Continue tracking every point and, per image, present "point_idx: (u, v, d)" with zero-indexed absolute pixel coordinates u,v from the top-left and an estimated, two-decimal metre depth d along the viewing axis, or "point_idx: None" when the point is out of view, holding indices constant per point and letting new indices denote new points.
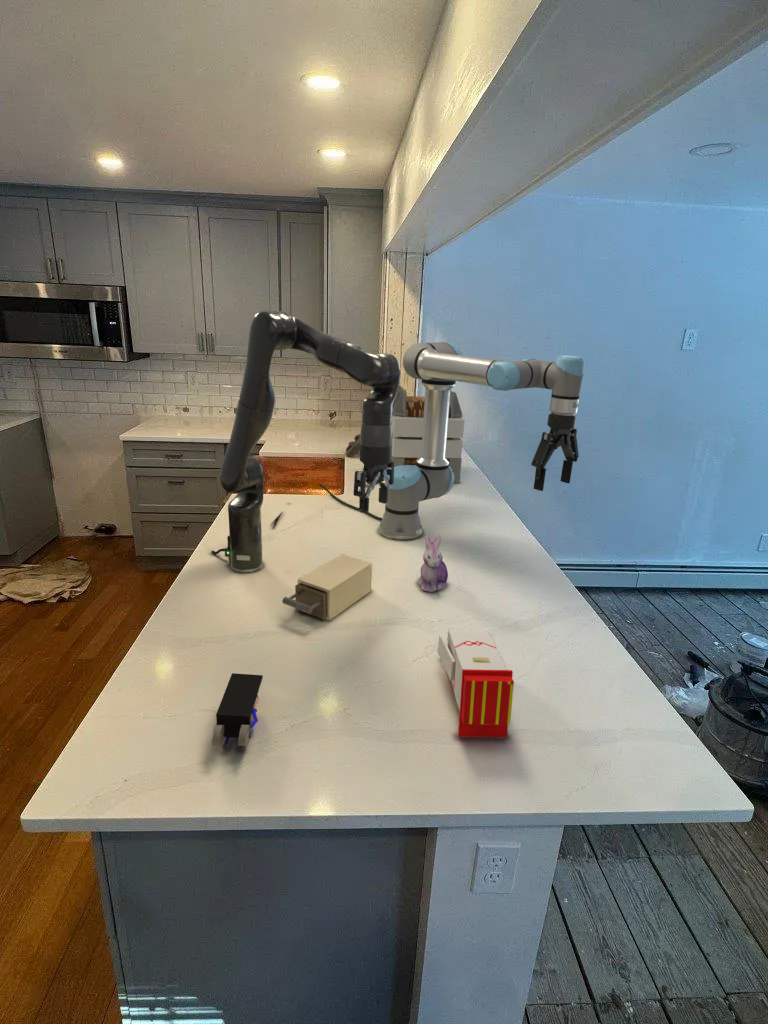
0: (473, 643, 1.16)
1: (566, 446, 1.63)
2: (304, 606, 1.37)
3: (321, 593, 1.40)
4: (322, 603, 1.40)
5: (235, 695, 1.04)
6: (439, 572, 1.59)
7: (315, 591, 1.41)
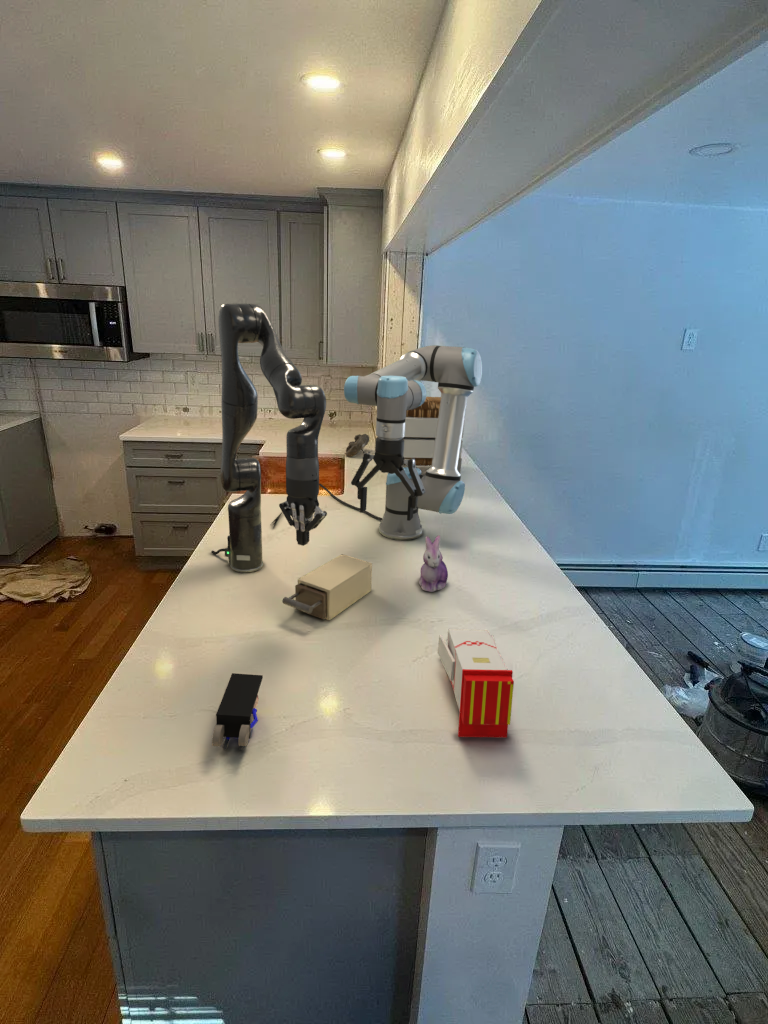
0: (473, 643, 1.16)
1: None
2: (304, 606, 1.37)
3: (321, 593, 1.40)
4: (322, 603, 1.40)
5: (235, 695, 1.04)
6: (439, 572, 1.59)
7: (315, 591, 1.41)
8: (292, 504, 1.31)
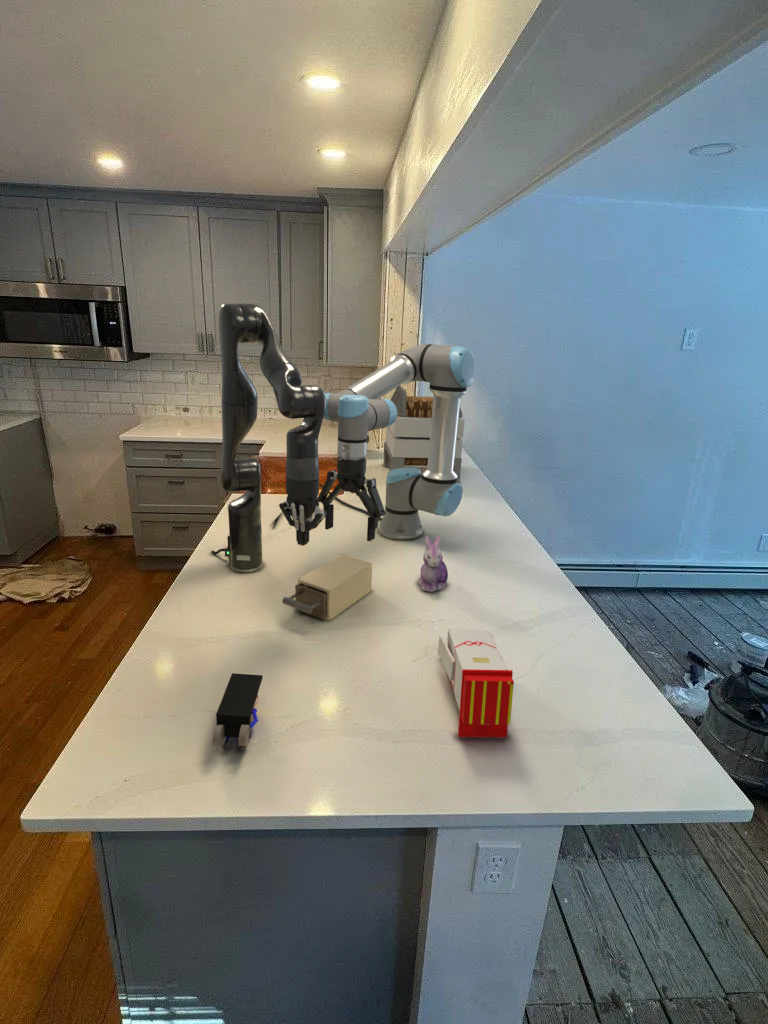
0: (473, 643, 1.16)
1: None
2: (304, 606, 1.37)
3: (321, 593, 1.40)
4: (322, 603, 1.40)
5: (235, 695, 1.04)
6: (439, 572, 1.59)
7: (315, 591, 1.41)
8: (292, 504, 1.31)
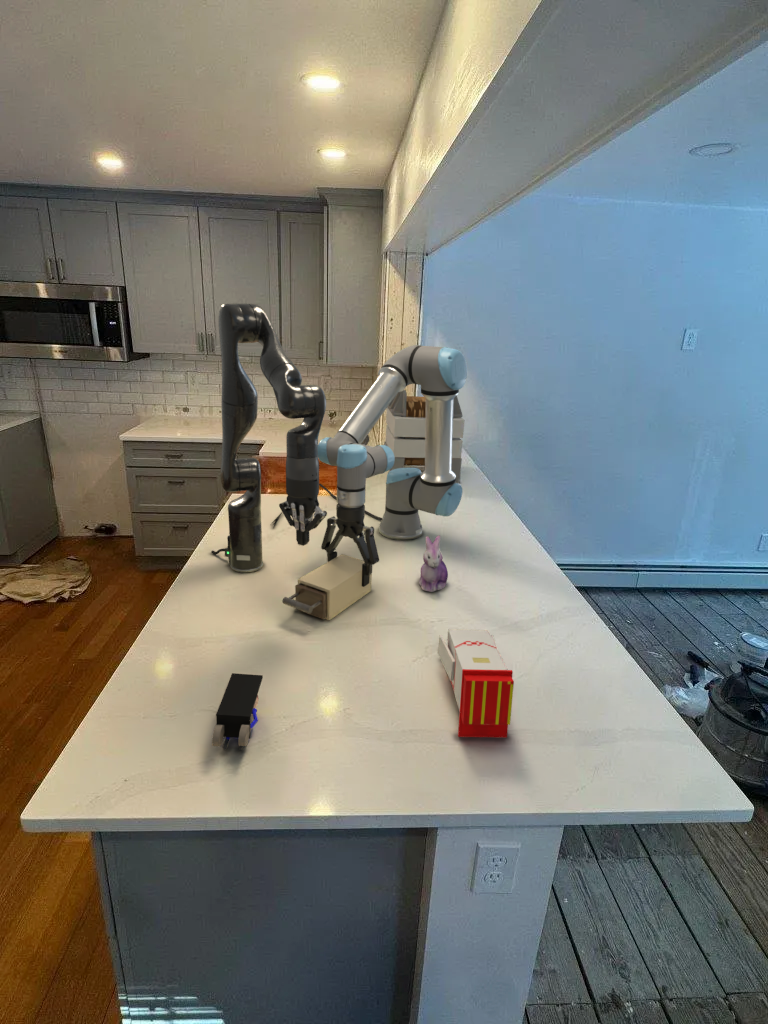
0: (473, 643, 1.16)
1: None
2: (304, 606, 1.37)
3: (321, 593, 1.40)
4: (322, 603, 1.40)
5: (235, 695, 1.04)
6: (439, 572, 1.59)
7: (315, 591, 1.41)
8: (292, 504, 1.31)
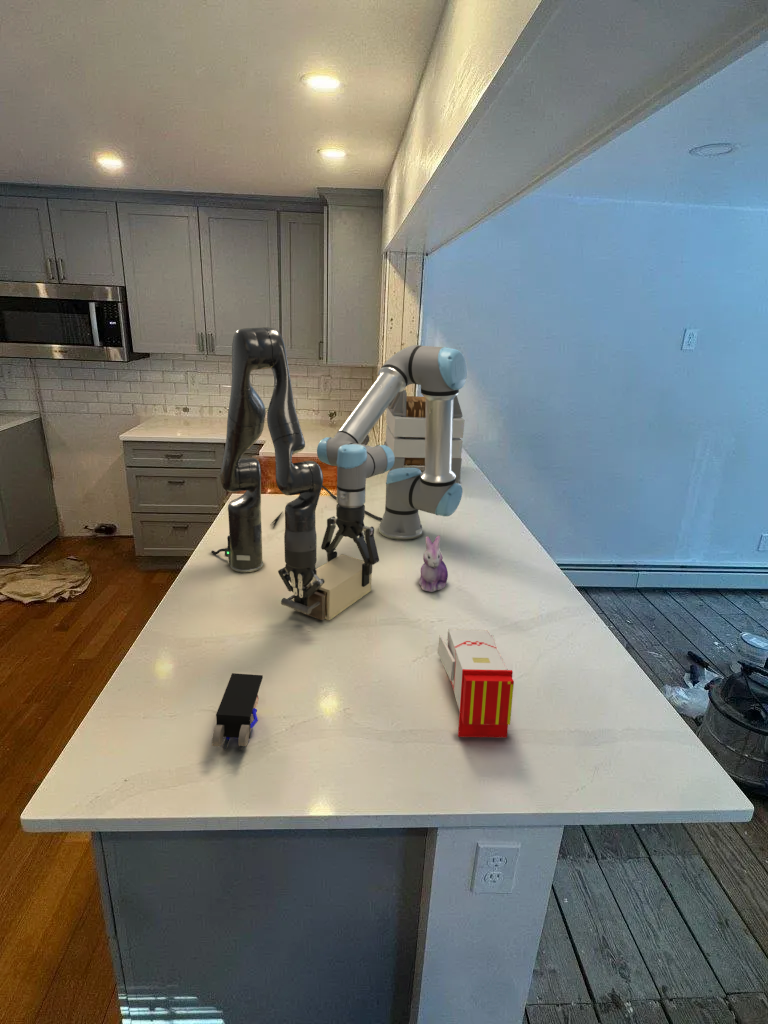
0: (473, 643, 1.16)
1: None
2: (303, 607, 1.36)
3: (320, 594, 1.40)
4: (321, 604, 1.40)
5: (235, 695, 1.04)
6: (439, 572, 1.59)
7: None
8: (291, 572, 1.36)
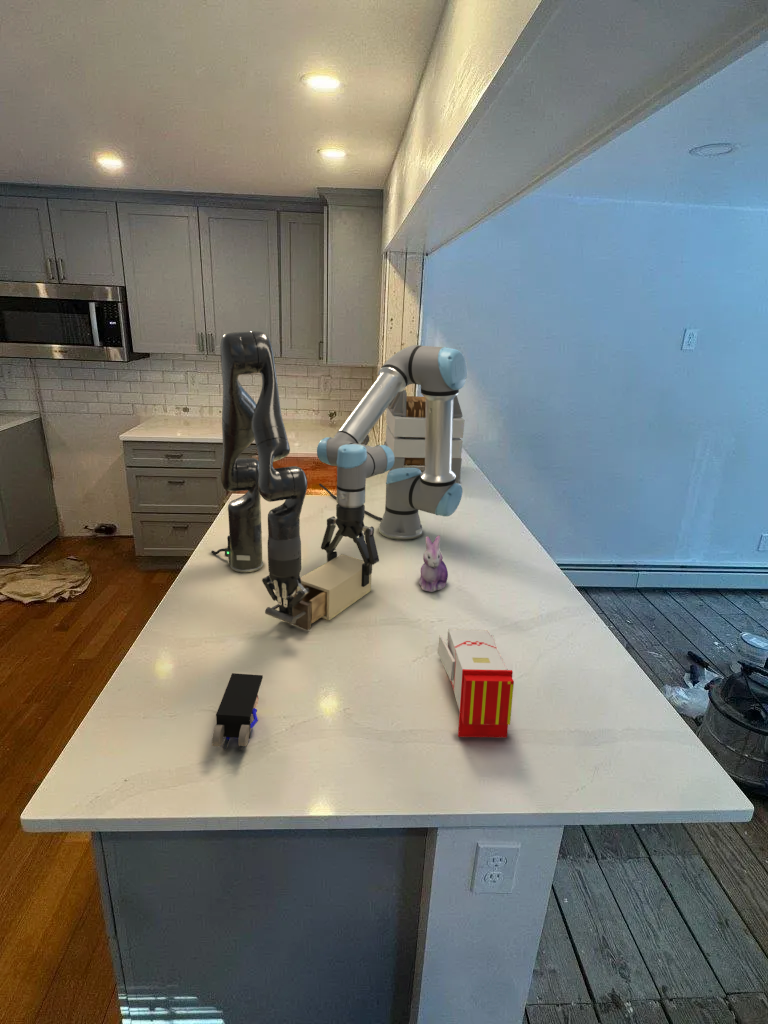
0: (473, 643, 1.16)
1: None
2: (287, 617, 1.32)
3: (305, 603, 1.35)
4: (306, 613, 1.35)
5: (235, 695, 1.04)
6: (439, 572, 1.59)
7: None
8: (274, 581, 1.31)
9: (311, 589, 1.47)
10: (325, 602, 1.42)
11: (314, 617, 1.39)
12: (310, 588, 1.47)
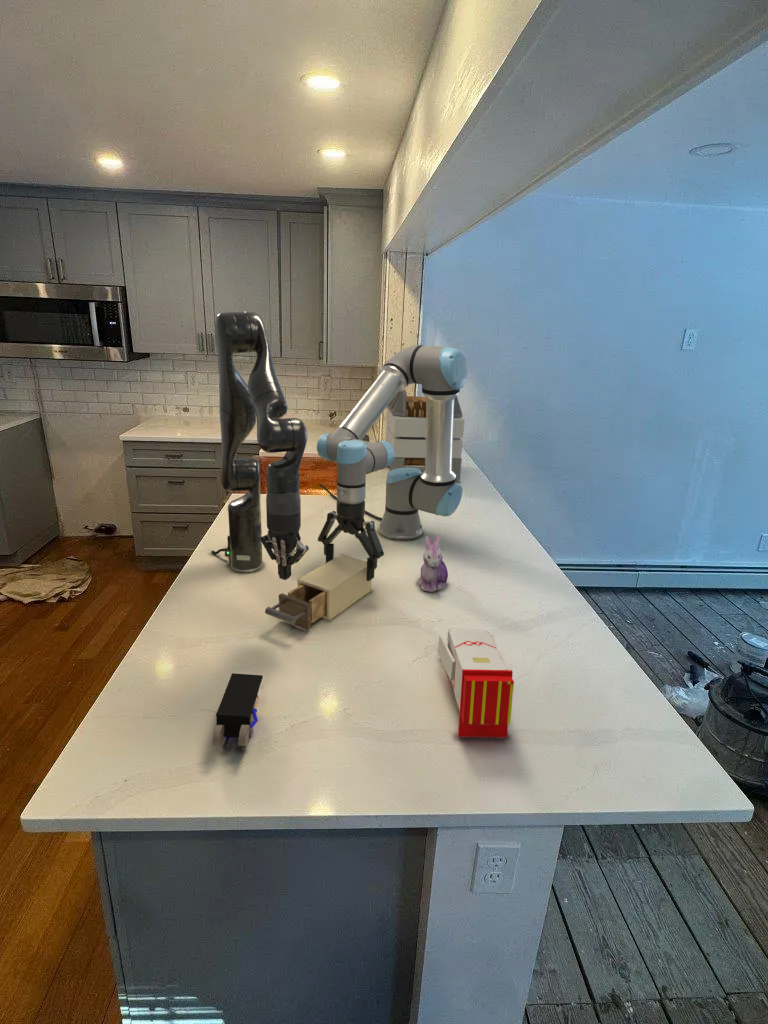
0: (473, 643, 1.16)
1: None
2: (287, 617, 1.32)
3: (305, 603, 1.35)
4: (306, 613, 1.35)
5: (235, 695, 1.04)
6: (439, 572, 1.59)
7: (299, 601, 1.36)
8: (273, 538, 1.28)
9: (311, 589, 1.47)
10: (325, 602, 1.42)
11: (314, 617, 1.39)
12: (310, 588, 1.47)
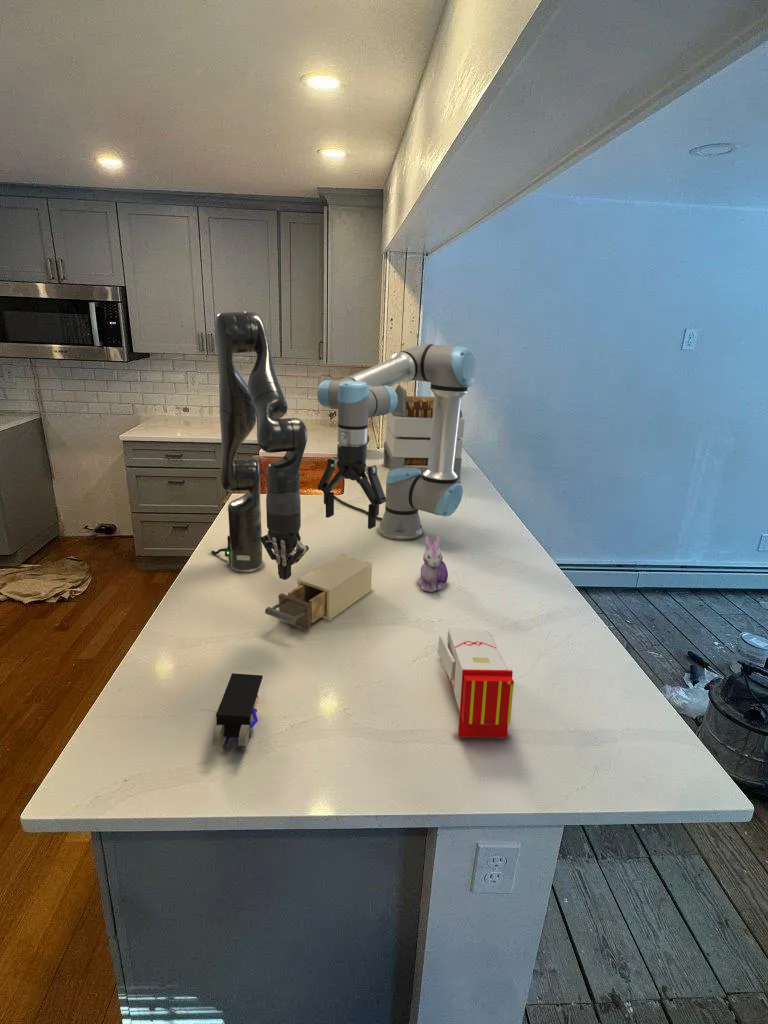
0: (473, 643, 1.16)
1: None
2: (287, 617, 1.32)
3: (305, 603, 1.35)
4: (306, 613, 1.35)
5: (235, 695, 1.04)
6: (439, 572, 1.59)
7: (299, 601, 1.36)
8: (273, 538, 1.28)
9: (311, 589, 1.47)
10: (325, 602, 1.42)
11: (314, 617, 1.39)
12: (310, 588, 1.47)
